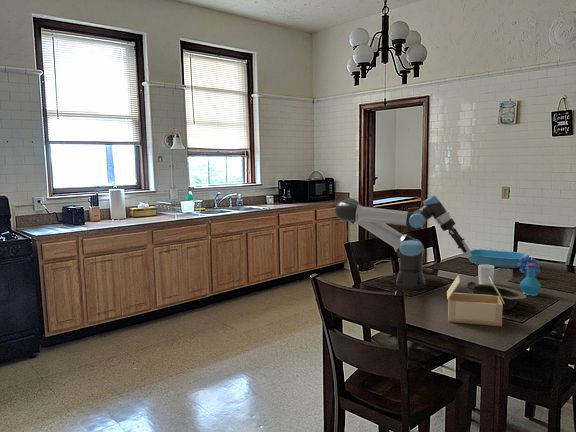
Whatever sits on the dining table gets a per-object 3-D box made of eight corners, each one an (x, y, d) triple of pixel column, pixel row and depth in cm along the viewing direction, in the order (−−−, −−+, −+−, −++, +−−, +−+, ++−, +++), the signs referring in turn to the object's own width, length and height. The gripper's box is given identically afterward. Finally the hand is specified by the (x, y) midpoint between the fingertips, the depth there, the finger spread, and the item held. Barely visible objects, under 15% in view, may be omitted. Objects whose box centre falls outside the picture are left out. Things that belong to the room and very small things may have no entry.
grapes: (515, 277, 259) (516, 256, 257) (517, 274, 264) (518, 254, 263) (539, 279, 252) (540, 258, 251) (540, 277, 258) (541, 256, 257)
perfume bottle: (529, 297, 221) (530, 266, 219) (515, 292, 230) (516, 262, 228) (545, 295, 224) (546, 265, 222) (530, 290, 232) (531, 261, 231)
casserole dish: (461, 264, 294) (461, 253, 294) (470, 257, 312) (470, 247, 312) (525, 271, 273) (525, 259, 272) (531, 264, 291) (531, 253, 290)
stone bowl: (456, 305, 210) (457, 285, 210) (479, 297, 228) (480, 278, 227) (513, 316, 193) (515, 294, 192) (533, 307, 210) (535, 287, 210)
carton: (448, 322, 189) (449, 301, 188) (447, 312, 201) (448, 292, 200) (502, 327, 183) (502, 305, 181) (497, 316, 195) (498, 295, 194)
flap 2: (492, 283, 183) (493, 283, 183) (489, 277, 193) (490, 276, 193) (503, 303, 182) (504, 303, 182) (500, 296, 193) (501, 295, 193)
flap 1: (459, 275, 197) (458, 274, 197) (460, 282, 186) (459, 281, 186) (447, 292, 199) (446, 291, 199) (448, 299, 189) (447, 299, 189)
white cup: (495, 286, 240) (496, 267, 239) (479, 286, 242) (479, 267, 241) (491, 282, 248) (492, 264, 247) (476, 282, 250) (476, 264, 248)
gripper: (451, 220, 235) (476, 255, 233) (451, 214, 258) (474, 246, 256) (438, 228, 237) (463, 263, 235) (439, 222, 261) (462, 253, 259)
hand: (469, 254), depth 246 cm, fingers open, 13 cm apart
